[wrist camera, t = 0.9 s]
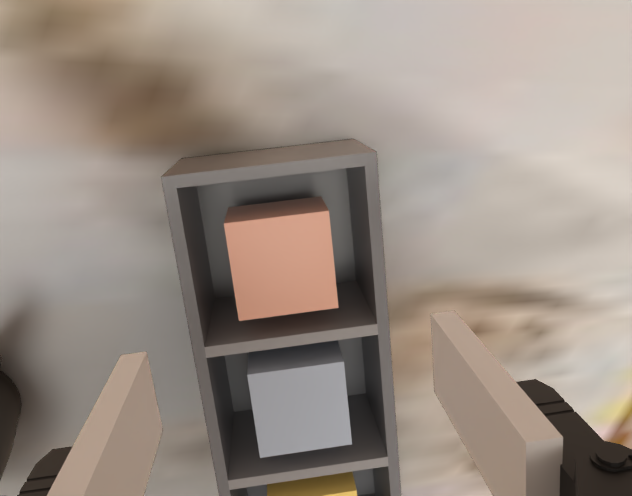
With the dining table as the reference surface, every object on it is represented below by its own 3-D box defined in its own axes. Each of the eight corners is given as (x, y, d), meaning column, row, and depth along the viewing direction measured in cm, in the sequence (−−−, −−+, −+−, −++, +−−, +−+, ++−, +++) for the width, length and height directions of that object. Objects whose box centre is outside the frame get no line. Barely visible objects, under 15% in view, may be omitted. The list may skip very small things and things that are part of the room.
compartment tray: (259, 613, 42) (259, 712, 35) (181, 158, 32) (161, 176, 26) (391, 592, 42) (415, 684, 36) (353, 138, 33) (376, 151, 26)
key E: (241, 294, 31) (238, 320, 28) (228, 207, 30) (223, 223, 26) (330, 283, 32) (338, 307, 28) (321, 196, 30) (329, 210, 27)
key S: (260, 418, 34) (260, 457, 30) (248, 343, 32) (247, 374, 29) (342, 407, 34) (352, 444, 30) (335, 331, 32) (343, 361, 29)
